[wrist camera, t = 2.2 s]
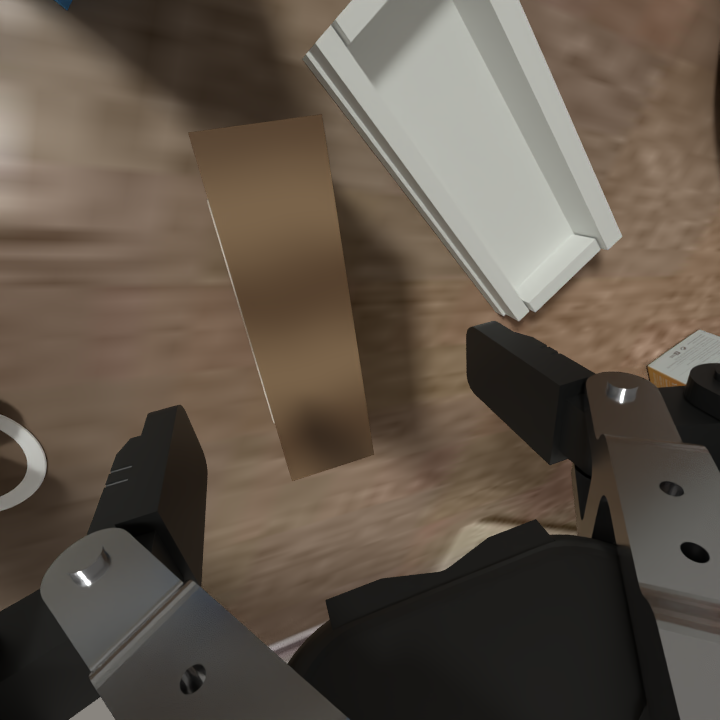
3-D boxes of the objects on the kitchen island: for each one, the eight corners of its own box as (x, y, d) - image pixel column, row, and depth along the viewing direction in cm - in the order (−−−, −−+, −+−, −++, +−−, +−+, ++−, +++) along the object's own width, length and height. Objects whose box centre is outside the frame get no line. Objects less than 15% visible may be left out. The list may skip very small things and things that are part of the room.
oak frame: (328, 362, 28) (377, 453, 19) (267, 379, 27) (288, 482, 18) (283, 132, 21) (326, 113, 12) (198, 144, 20) (183, 133, 11)
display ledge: (495, 311, 30) (525, 328, 27) (302, 58, 20) (316, 40, 17) (580, 228, 29) (622, 236, 26) (424, -83, 19) (462, -129, 16)
